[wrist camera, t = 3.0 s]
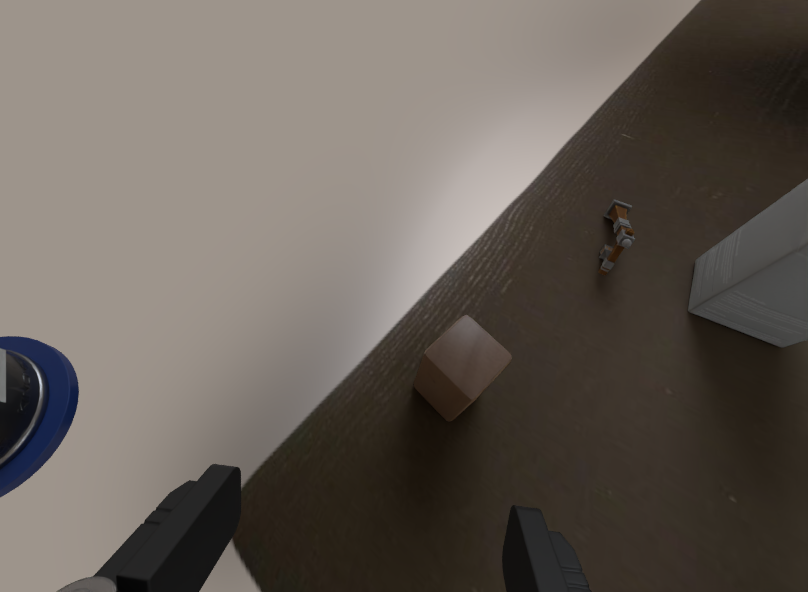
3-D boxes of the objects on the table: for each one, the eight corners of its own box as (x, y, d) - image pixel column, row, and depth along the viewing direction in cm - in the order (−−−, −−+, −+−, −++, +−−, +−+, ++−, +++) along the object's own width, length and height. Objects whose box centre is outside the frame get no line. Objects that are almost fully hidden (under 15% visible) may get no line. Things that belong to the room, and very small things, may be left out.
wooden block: (410, 385, 29) (421, 352, 22) (446, 351, 31) (466, 310, 24) (448, 424, 28) (472, 403, 21) (483, 387, 30) (516, 355, 23)
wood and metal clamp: (592, 275, 34) (622, 232, 31) (590, 236, 40) (615, 197, 37) (612, 283, 34) (644, 240, 31) (607, 242, 40) (633, 203, 37)
